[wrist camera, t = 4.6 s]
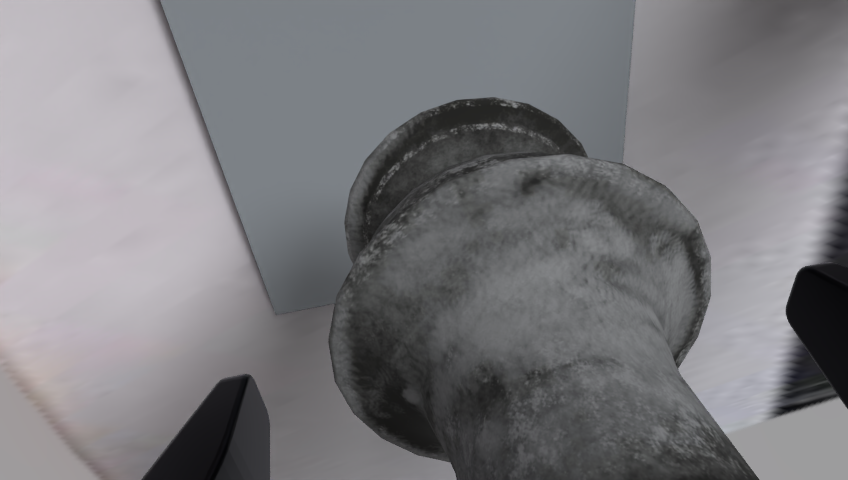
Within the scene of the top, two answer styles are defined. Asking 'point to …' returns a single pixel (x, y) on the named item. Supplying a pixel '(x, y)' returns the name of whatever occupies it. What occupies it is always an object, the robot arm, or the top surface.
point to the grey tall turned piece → (523, 305)
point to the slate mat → (376, 100)
